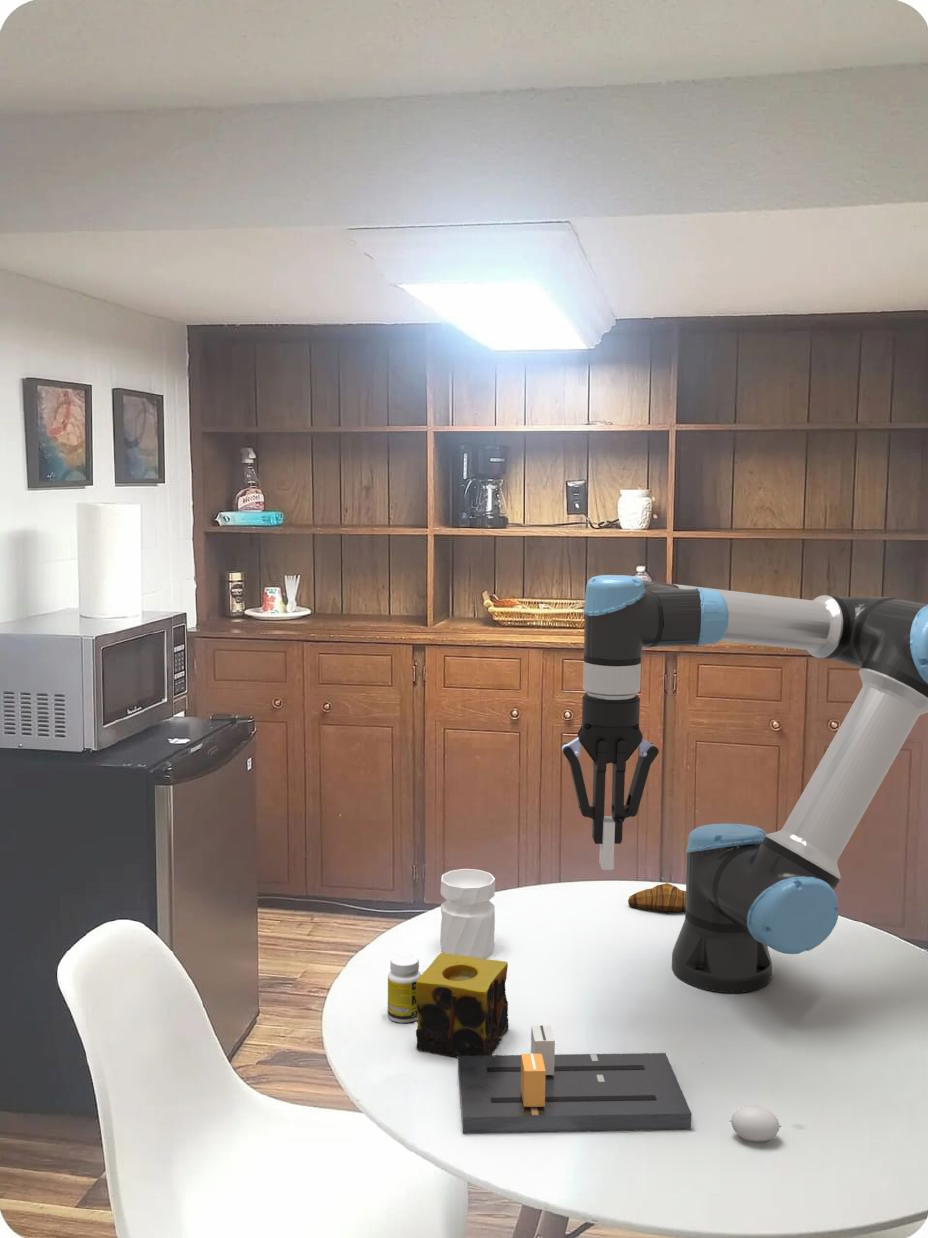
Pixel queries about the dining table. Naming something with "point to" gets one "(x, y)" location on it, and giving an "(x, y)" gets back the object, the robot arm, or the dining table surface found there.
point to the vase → (468, 913)
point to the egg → (755, 1123)
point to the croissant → (660, 899)
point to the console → (573, 1094)
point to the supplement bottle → (403, 988)
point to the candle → (461, 1006)
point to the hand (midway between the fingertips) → (606, 866)
